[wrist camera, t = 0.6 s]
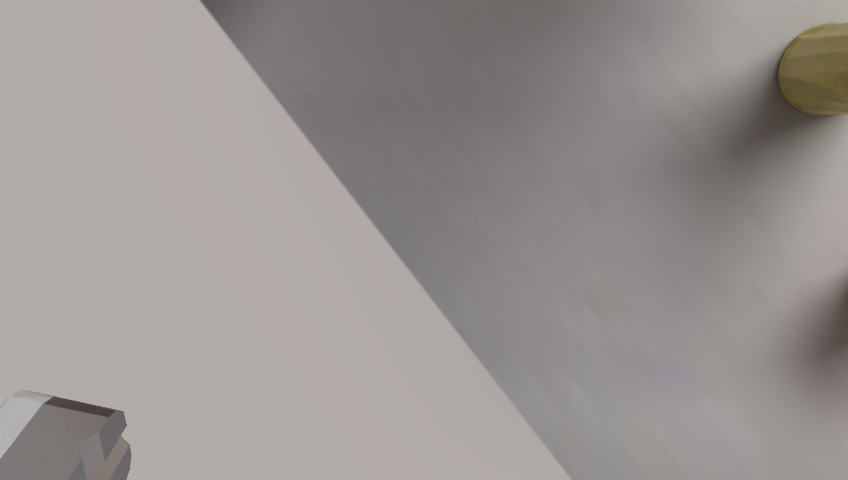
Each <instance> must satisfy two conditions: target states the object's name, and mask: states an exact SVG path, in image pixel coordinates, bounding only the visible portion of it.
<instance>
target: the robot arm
mask: <svg viewBox="0 0 848 480" xmlns="http://www.w3.org/2000/svg"><path fill="white" fill-rule="evenodd" d="M126 426H127V425H126V420H125V416H124V412H123V411H120V410H115V409H110V408H106V407H101V406H96V405H91V404H87V403H82V402H78V401H73V400H68V399H63V398H59V397H56V396H51V395H46V394H41V393H35V392H30V391H25V390H20V391H18V392H17V393H15V394H13V395H12V396H10V397H9V398H8V399H7V400H6V401H5V402H4V403H3V405H2V406H1V407H0V480H126V479H127V476H128V473H129V470H130V463H131V450H130V444H129V443H128V442H127V441H126V440H124V438H123V437H122V436H121V434H122V432H123V431H124V429H125V428H126Z"/></svg>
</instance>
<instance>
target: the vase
mask: <svg viewBox="0 0 848 480" xmlns="http://www.w3.org/2000/svg"><path fill="white" fill-rule="evenodd" d="M778 80H779V85H780V88H781V91H782V93H783V95H784V97H785V98H786V99H787V101H788V102H789V103H791V104H792V105H793V106H794V107H796V108H797V109H798V110H800V111H801V112H804V113H808V114H812V115H819V116H822V115H837V114H848V23H846V24H824V25H819V26H816V27H813V28H811V29H809V30H807V31H806V32H804V33H802V34H801V35H799V36H798V37H797V38H796V39H795V40H794V41H793V42H792V43H791V44H790V46H789V47H788V48H787V50H786V51H785V53H784V54H783V57H782V59H781V62H780V65H779V71H778Z"/></svg>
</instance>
